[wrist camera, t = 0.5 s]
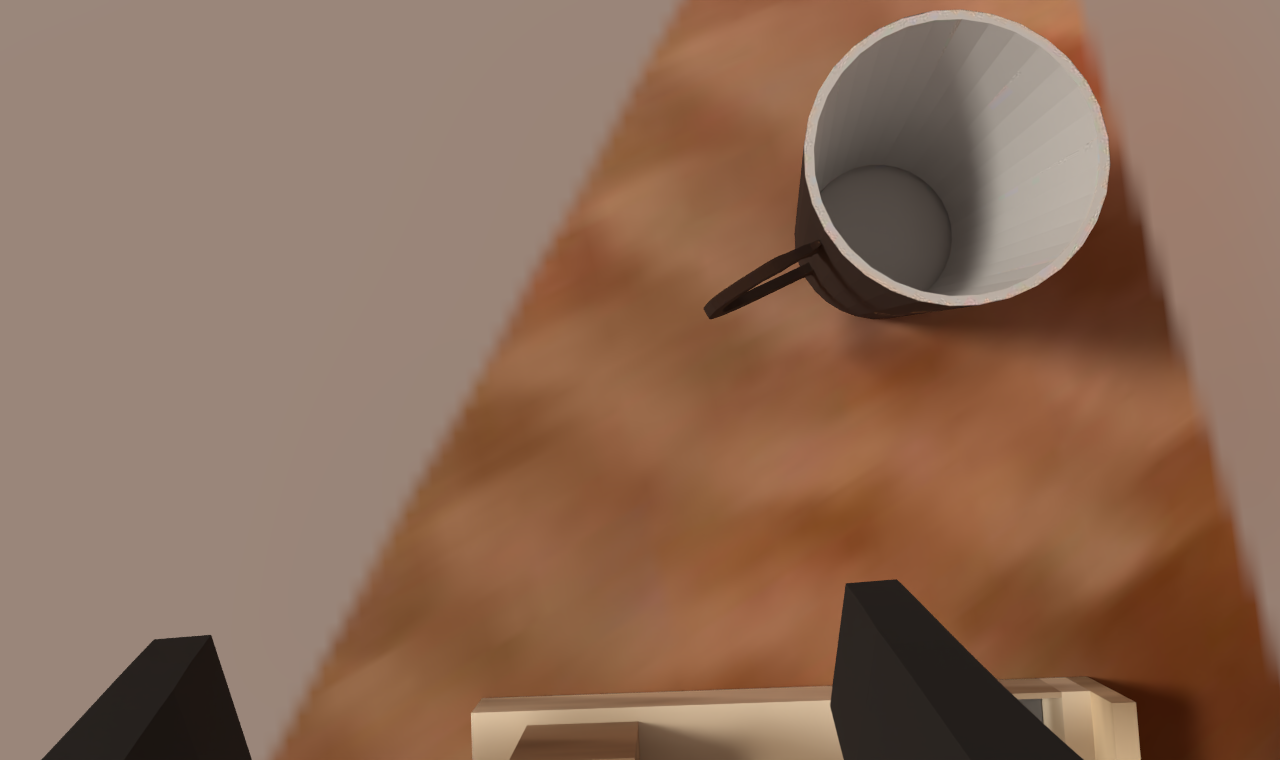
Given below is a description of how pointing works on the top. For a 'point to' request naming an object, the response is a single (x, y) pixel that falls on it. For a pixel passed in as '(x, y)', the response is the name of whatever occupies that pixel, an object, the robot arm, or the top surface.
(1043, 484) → the top surface
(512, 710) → the birch tray
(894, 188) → the black cup
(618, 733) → the walnut block
